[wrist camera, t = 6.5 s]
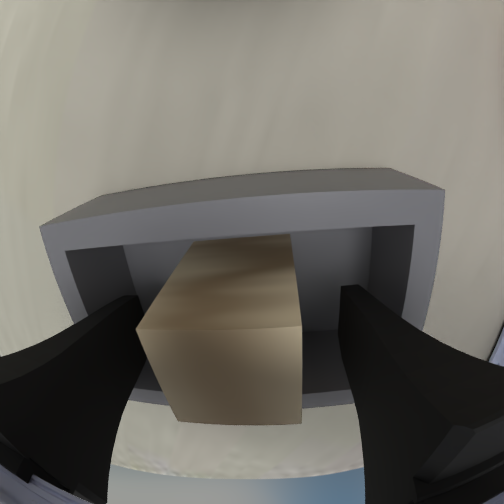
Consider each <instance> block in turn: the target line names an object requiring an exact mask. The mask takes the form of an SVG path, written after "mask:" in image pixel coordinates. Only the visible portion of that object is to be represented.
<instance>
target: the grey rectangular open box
mask: <svg viewBox="0 0 504 504" xmlns="http://www.w3.org/2000/svg"><path fill="white" fill-rule="evenodd" d="M444 200H445V190H444V189H442V188H440V187H437V186H435V185H432V184H430V183H428V182H425V181H423V180H420V179H418V178H415V177H412V176H410V175H407V174H405V173H402V172H399V171H396V170H394V169H391V168H345V169H318V170H299V171H283V172H270V173H257V174H246V175H236V176H227V177H218V178H209V179H201V180H193V181H186V182H179V183H172V184H165V185H159V186H152V187H146V188H140V189H134V190H129V191H123V192H118V193H113V194H107V195H102V196H99V197H97V198H95V199H93V200H91V201H89V202H86V203H84V204H82V205H80V206H78V207H76V208H74V209H72V210H70V211H68V212H66V213H64V214H62V215H60V216H58V217H56V218H54V219H52V220H50V221H49V222H47V223H45V224H43V225H41V226H39V228H40V231H41V235H42V238H43V242H44V245H45V248H46V252H47V255H48V258H49V261H50V264H51V267H52V270H53V273H54V275H55V278H56V281H57V284H58V286H59V289H60V291H61V294H62V297H63V299H64V302H65V304H66V306H67V309H68V311H69V313H70V316H71V318H72V320H73V322H74V324H75V323H77V322H79V321H81V320H82V319H84V318H85V317H87V316H89V315H90V314H92V313H93V312H95V311H97V310H98V309H100V308H102V307H103V306H105V305H107V304H108V303H110V302H112V301H114V300H116V299H117V298H120V297H122V296H124V295H138V297H139V300H140V303H141V306H142V309H143V312H144V315H145V314H146V312H147V311H148V309H149V307H150V306H151V304H152V303H153V301H154V300H155V298H156V297H157V295H158V294H159V292H160V291H161V289H162V288H163V286H164V285H165V283H166V282H167V280H168V279H169V277H170V276H171V274H172V273H173V271H174V270H175V268H176V267H177V265H178V264H179V262H180V261H181V259H182V258H183V256H184V255H185V254H186V252H187V251H188V249H189V248H190V246H191V245H192V243H193V242H194V241H205V240H217V239H229V238H241V237H254V236H267V235H280V234H290V238H291V245H292V252H293V259H294V266H295V274H296V281H297V289H298V297H299V305H300V314H301V322H302V408H314V407H325V406H335V405H343V404H351V403H355V402H354V399H353V395H352V392H351V388H350V385H349V381H348V378H347V375H346V371H345V368H344V364H343V361H342V357H341V351H340V345H339V339H338V323H339V308H340V291H341V286H344V285H356V284H358V285H360V286H361V287H363V288H364V289H365V290H367V291H368V292H369V293H370V294H372V295H373V296H374V297H375V298H377V299H378V300H379V301H380V302H382V303H383V304H384V305H385V306H387V307H388V308H389V309H391V310H392V311H393V312H395V313H396V314H397V315H399V316H400V317H401V318H403V319H404V320H406V321H407V322H409V323H410V324H412V325H413V326H415V327H416V328H418V329H419V330H421V331H422V330H423V326H424V323H425V319H426V315H427V311H428V306H429V302H430V298H431V293H432V288H433V283H434V278H435V273H436V267H437V261H438V255H439V248H440V241H441V232H442V223H443V213H444ZM128 400H132V401H138V402H145V403H152V404H160V405H168V406H170V405H169V403H168V401H167V399H166V397H165V395H164V393H163V391H162V389H161V387H160V385H159V382H158V380H157V378H156V376H155V374H154V372H153V369H152V367H151V365H150V362H149V360H148V358H147V360H146V362H145V364H144V367H143V369H142V371H141V373H140V375H139V378H138V380H137V382H136V384H135V386H134V388H133V390H132V393H131V395H130V397H129V399H128Z"/></svg>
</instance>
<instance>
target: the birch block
mask: <svg viewBox="0 0 504 504" xmlns="http://www.w3.org/2000/svg"><path fill="white" fill-rule="evenodd" d="M136 331H137V334H138V336H139V339H140V341H141V344H142V346H143V348H144V351H145V353H146V356H147V358H148V360H149V362H150V365H151V367H152V369H153V372H154V374H155V376H156V378H157V380H158V382H159V385H160V387H161V389H162V391H163V393H164V395H165V397H166V399H167V401H168V403H169V405H170V407H171V409H172V411H173V413H174V415H175V417H176V418H177V420H178V421H181V422H192V423H204V424H221V425H287V424H301V423H302V322H301V314H300V305H299V297H298V289H297V281H296V274H295V266H294V259H293V252H292V245H291V238H290V234H280V235H267V236H254V237H241V238H229V239H217V240H205V241H194V242H193V243H192V245H191V246H190V248H189V249H188V251H187V252H186V254H185V255H184V256H183V258H182V259H181V261H180V262H179V264H178V265H177V267H176V268H175V270H174V271H173V273H172V274H171V276H170V277H169V279H168V280H167V282H166V283H165V285H164V286H163V288H162V289H161V291H160V292H159V294H158V295H157V297H156V298H155V300H154V301H153V303H152V304H151V306H150V307H149V309H148V311H147V312H146V314H145V315H144V317H143V318H142V320H141V321H140V323H139V325H138V326H137V328H136Z"/></svg>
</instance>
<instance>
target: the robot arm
mask: <svg viewBox="0 0 504 504" xmlns="http://www.w3.org/2000/svg"><path fill="white" fill-rule="evenodd" d="M143 317H144V312H143V309H142V306H141V303H140V300H139V297H138V295H124V296H122V297H120V298H117V299H116V300H114V301H112V302H110V303H108V304H107V305H105V306H103V307H102V308H100V309H98V310H97V311H95V312H93V313H92V314H90V315H89V316H87V317H85V318H84V319H82V320H81V321H79V322H77V323H75V324H74V325H72V326H70V327H69V328H67V329H65V330H63V331H62V332H60V333H58V334H56V335H54V336H53V337H51V338H49V339H47V340H44V341H42V342H40V343H38V344H36V345H34V346H31V347H28V348H26V349H23V350H21V351H18V352H15V353H13V354H9V355H6V356H3V357H0V504H106V503H107V492H108V478H109V470H110V464H111V457H112V452H113V447H114V443H115V438H116V434H117V431H118V427H119V424H120V420H121V417H122V414H123V411H124V409H125V406H126V404H127V401H128V399H129V397H130V395H131V393H132V390H133V388H134V386H135V384H136V382H137V380H138V378H139V375H140V373H141V371H142V369H143V367H144V364H145V362H146V360H147V356H146V353H145V351H144V348H143V346H142V344H141V341H140V339H139V336H138V334H137V331H136V328H137V326H138V325H139V323H140V321H141V320H142V318H143ZM338 339H339V345H340V351H341V357H342V361H343V364H344V368H345V371H346V375H347V378H348V381H349V385H350V388H351V392H352V395H353V399H354V402H355V406H356V410H357V414H358V419H359V425H360V433H361V441H362V450H363V460H364V475H365V504H504V367H503V366H504V328H503V330H502V333H501V335H500V338H499V340H498V342H497V345H496V347H495V349H494V351H493V353H492V356H491V358H490V360H489V362H487V361H484V360H481V359H478V358H476V357H473V356H470V355H468V354H466V353H463V352H461V351H459V350H456V349H454V348H452V347H450V346H448V345H446V344H444V343H442V342H440V341H438V340H436V339H435V338H433V337H431V336H429V335H427V334H426V333H424V332H422V331H421V330H419V329H418V328H416V327H415V326H413V325H412V324H410V323H409V322H407V321H406V320H404V319H403V318H401V317H400V316H399V315H397V314H396V313H395V312H393V311H392V310H391V309H389V308H388V307H387V306H385V305H384V304H383V303H382V302H380V301H379V300H378V299H377V298H375V297H374V296H373V295H372V294H370V293H369V292H368V291H367V290H365V289H364V288H363V287H361V286H360V285H358V284H356V285H344V286H341V291H340V308H339V323H338ZM63 490H64V491H63ZM65 491H66V492H65ZM67 492H68V493H67ZM69 493H70V494H69ZM71 494H72V495H71ZM73 495H74V496H73ZM78 497H79V498H78ZM80 498H81V499H80ZM82 499H83V500H82ZM87 501H88V502H87ZM89 502H90V503H89Z"/></svg>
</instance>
